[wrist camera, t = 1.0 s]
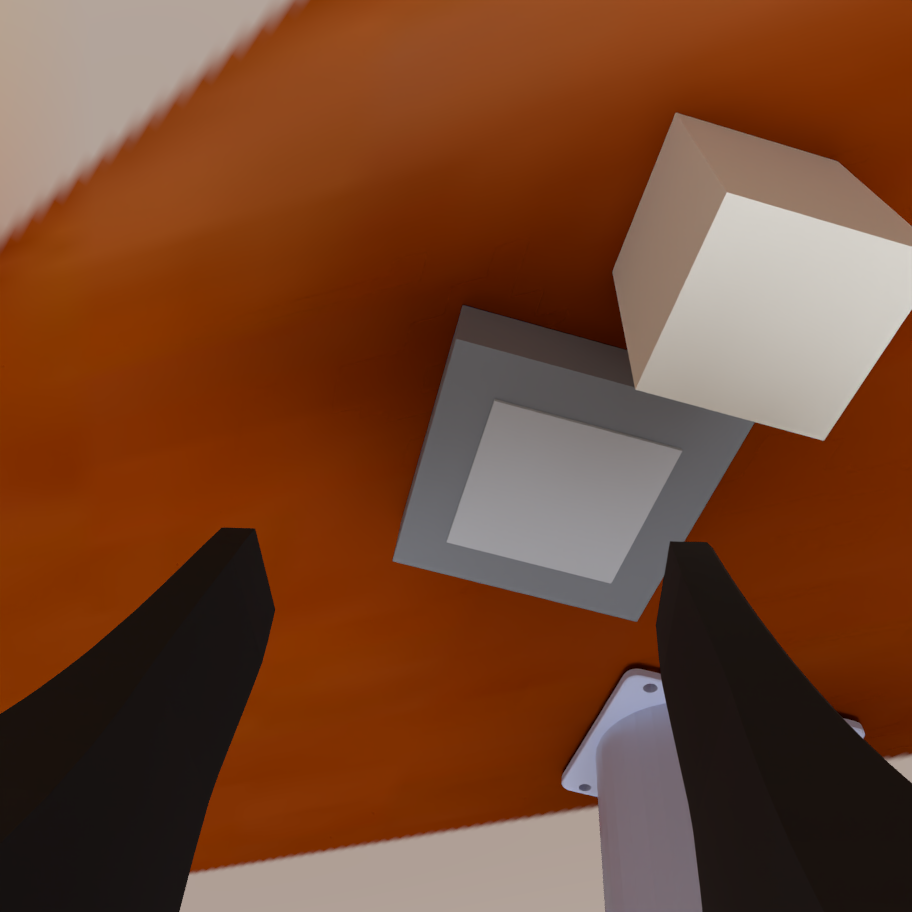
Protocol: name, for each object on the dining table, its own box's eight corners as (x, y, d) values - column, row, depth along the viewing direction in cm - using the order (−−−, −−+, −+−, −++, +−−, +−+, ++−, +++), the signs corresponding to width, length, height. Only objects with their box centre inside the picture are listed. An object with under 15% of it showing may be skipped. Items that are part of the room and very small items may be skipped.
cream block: (837, 160, 18) (946, 257, 13) (756, 311, 20) (823, 440, 16) (675, 112, 18) (727, 192, 13) (612, 271, 20) (635, 389, 15)
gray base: (739, 381, 22) (756, 422, 20) (630, 577, 26) (637, 624, 25) (462, 304, 21) (456, 340, 19) (401, 519, 26) (391, 563, 24)
